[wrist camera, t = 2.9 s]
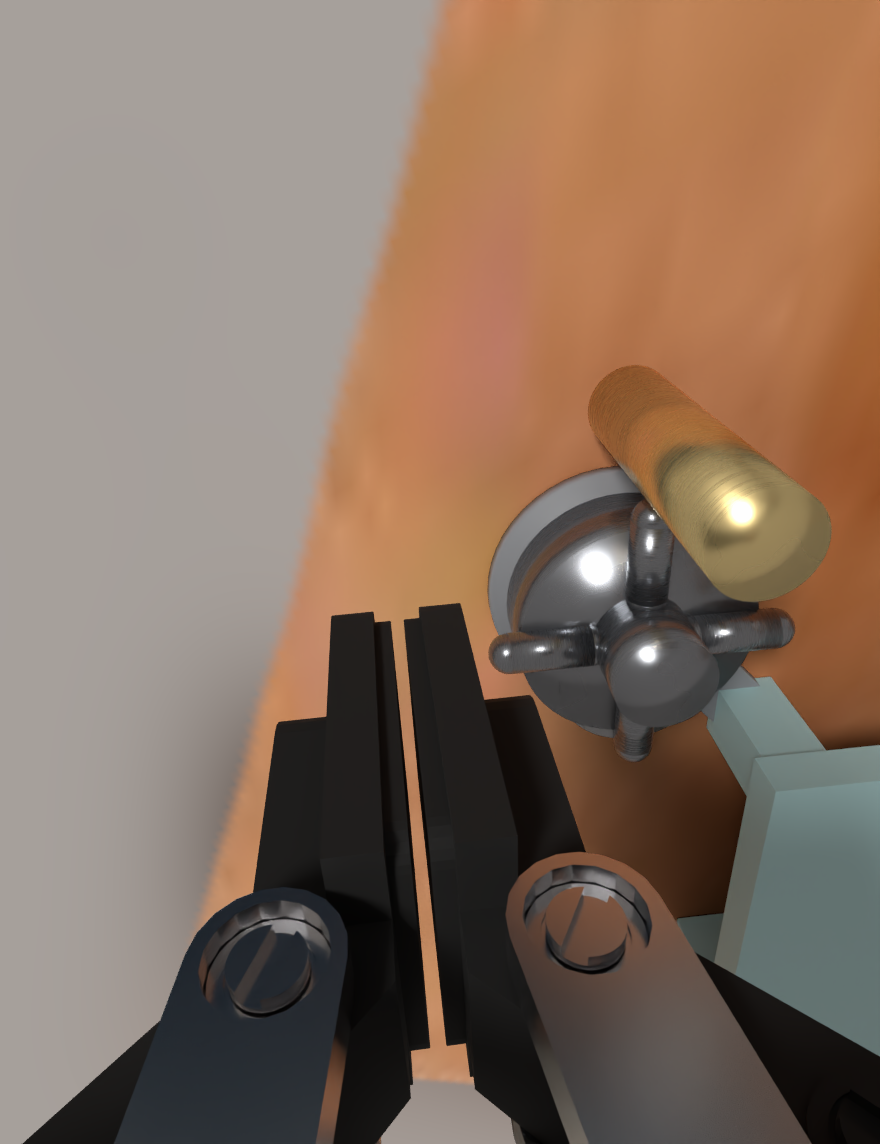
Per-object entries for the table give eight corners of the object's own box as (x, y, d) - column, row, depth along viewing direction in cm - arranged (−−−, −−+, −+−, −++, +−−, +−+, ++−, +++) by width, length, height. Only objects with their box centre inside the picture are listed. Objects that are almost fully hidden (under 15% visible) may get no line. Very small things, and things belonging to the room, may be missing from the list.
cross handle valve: (468, 377, 18) (527, 509, 11) (792, 353, 18) (1021, 466, 12) (481, 717, 23) (526, 939, 16) (734, 692, 23) (874, 900, 17)
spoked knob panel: (484, 477, 20) (518, 573, 15) (1167, 420, 21) (1381, 494, 16) (497, 986, 30) (520, 1128, 26) (948, 933, 31) (1043, 1062, 27)
